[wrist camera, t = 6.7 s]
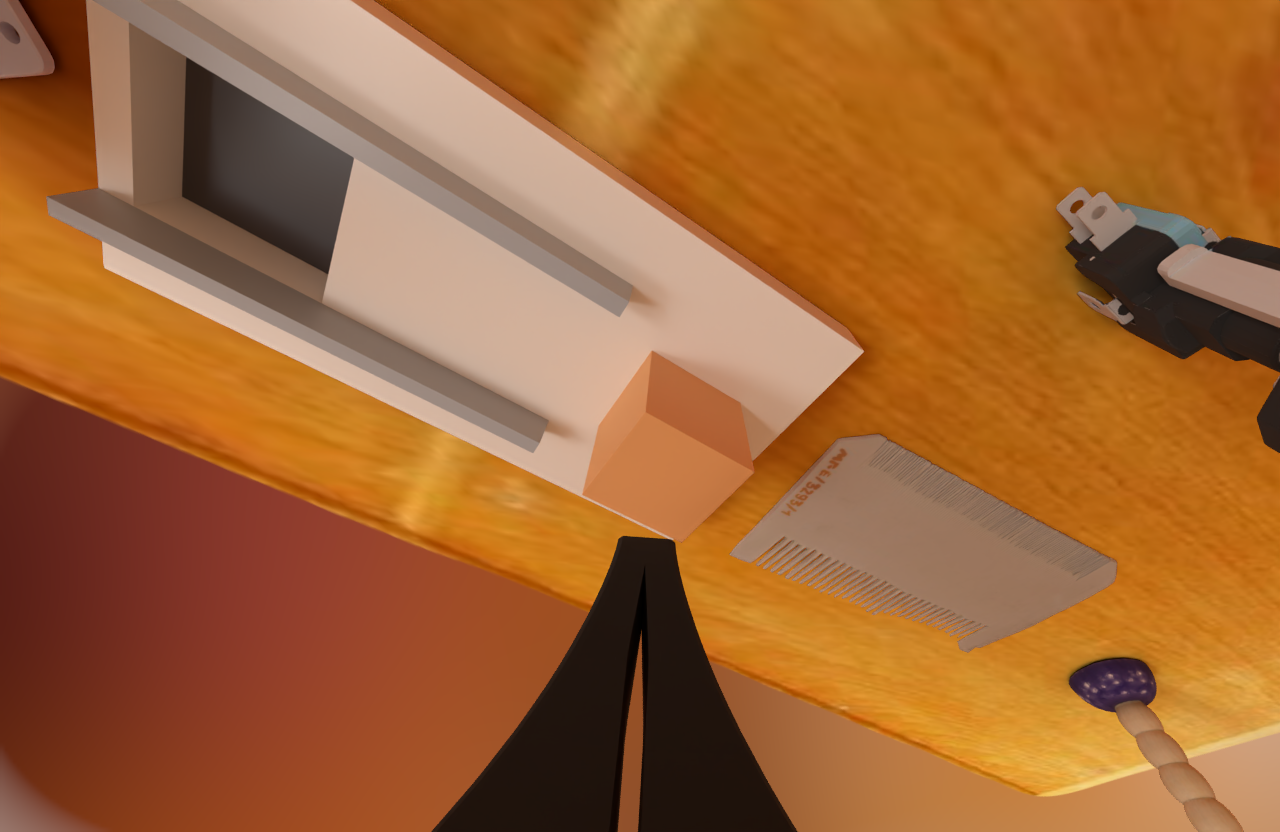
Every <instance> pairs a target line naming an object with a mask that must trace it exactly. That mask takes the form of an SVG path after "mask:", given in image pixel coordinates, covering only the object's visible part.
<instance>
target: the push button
mask: <svg viewBox="0 0 1280 832" xmlns="http://www.w3.org/2000/svg"><path fill="white" fill-rule="evenodd" d="M1078 200H1083V202H1084V204H1083V206H1082V207H1081V208H1080V209H1079V210H1078V211H1077V212H1076V213H1071V212H1070V207H1071V206H1072V204H1073V203H1074V202H1076V201H1078ZM1056 210H1057V211H1058V212H1059V213H1060V214H1061V215H1062V216H1063V217H1064V218H1065V220H1066V221H1067V222H1068V223H1069V224H1070V225H1071V226H1072V227H1073V228H1074V229H1073V230H1071V231H1070V232H1069V233H1070V234H1071V235H1072V236H1073V237H1074V238H1075V239H1074V240H1073V241H1072V242H1071V243H1069V244H1068V245H1067V246H1066V247H1065V248H1066V249H1067V250H1068V251H1069V253H1070V254H1071V255H1072V256H1073V257H1074V258H1075V259H1076V260H1077V261H1078V262H1077V263H1076V264H1075V267H1076V268H1077V269H1078V270H1079V271H1080V272H1081V273H1082V274H1083V275H1084V276H1086V277H1087V278H1089V279H1090V280H1092V281H1093V282H1095V283H1096V284H1098V285H1100V286H1101V287H1103V288H1104V289H1105V290H1106V291H1107V292H1108V294H1109V295H1110V296H1111V297H1112V298H1113V299H1114V300H1112V301H1111V302H1109V303H1106V304H1103V303H1102V302H1101V301H1099V300H1097V299H1095V298H1093V297H1091V296H1089V295H1087V294H1085V293H1083V292H1081V291H1079V292H1078V293H1077V294H1078V295H1079V296H1080V297H1081V298H1082V299H1083V300H1084V301H1085V302H1086V303H1087V304H1088V305H1089V306H1090V307H1091V308H1093V309H1094V310H1095V311H1097V312H1099V313H1101V314H1103V315H1105V316H1107V317H1109V318H1111V319H1113V320H1115V321H1117V322H1118V323H1119V324H1120V325H1121V326H1122V327H1123V328H1124V329H1126V330H1127V331H1129V332H1131V333H1133V334H1135V335H1136V336H1138V337H1140V338H1142V339H1144V340H1146V341H1148V342H1150V343H1152V344H1154V345H1156V346H1158V347H1159V348H1161V349H1163V350H1165V351H1167V352H1169V353H1171V354H1173V355H1175V356H1177V357H1179V358H1181V359H1186V358H1188V357H1189V356H1191V355H1192V354H1194V353H1196V352H1197V351H1199V350H1200V349H1202V348H1203V347H1207V348H1209V349H1211V350H1213V351H1216V352H1218V353H1220V354H1222V355H1224V356H1226V357H1228V358H1230V359H1232V360H1235V361H1242V360H1249V359H1251V360H1254V361H1256V362H1258V363H1260V364H1262V365H1265V366H1267V367H1269V368H1271V369H1273V370H1275V371H1278V372H1280V248H1277V247H1273V246H1269V245H1265V244H1261V243H1257V242H1253V241H1249V240H1245V239H1241V238H1234V237H1231V236H1228V237H1226V238H1225V239H1223V240H1220V238H1219V237H1218V236H1217V235H1216V233H1215V232H1214V231H1213V230H1212V228H1208V229H1207V230H1206V229H1205V228H1204V227H1203V226H1201V225H1197V224H1195V223H1193V222H1192V221H1191V220H1189V219H1188V218H1186V217H1183V216H1181V215H1177V214H1173V213H1168V214H1167V213H1163V212H1159V211H1155V210H1151V209H1146V208H1142V207H1138V206H1134V205H1130V204H1125V203H1118V204H1117V205H1116V204H1115V203H1114V202H1113V200H1112V199H1111V198H1110V197H1109V196H1108V195H1107V193H1106V192H1099V193H1098V194H1097V195H1095V196H1094V197H1093V198H1092V197H1091V196H1090V194H1089V193H1088V192H1087V191H1086V190H1085V189H1084V188H1083V187H1077V188H1076V189H1075V190H1074V191H1073V192H1071V193H1070V194H1069V195H1068V196H1067V197H1066V198H1065V199H1063V200H1062V201H1061V202H1060V203H1059V204H1058V205H1057V207H1056ZM1257 422H1258V425H1259V428H1260V431H1261V434H1262V438H1263V441H1264V443H1265V444H1266V445H1267V446H1268V447H1270V448H1272V449H1273V450H1275V451H1277V452H1279V453H1280V376H1279V377H1278V379H1277V380H1276V382H1275V383H1274V385H1273V390H1272V392H1271V393H1270V395H1269V397H1268V398H1267V400H1266V402H1265V404H1264V405H1263V407H1262V409H1261V410H1260V412H1259V414H1258V416H1257Z"/></svg>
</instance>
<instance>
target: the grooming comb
mask: <svg viewBox="0 0 1280 832" xmlns="http://www.w3.org/2000/svg"><path fill="white" fill-rule="evenodd" d="M783 537H785V538H784V539H783V540H782V541H781V542H779V543H778V544H777V545H776V546H775V547H774V548H773V549H772V550H771V551H769V552H768V553H767V554H766V555H765V556H764V557H763V558H762V559H761V560H760V561H759V562H758V563H757V564H756V566H759V565H761V564H762V563H763V562H765V561H766V560H767V559H769V558H770V557H771V556H772V555H774V554H775V553H776V552H777V551H779V550H780V549H781V548H782V547H784V546H785V545H786V544H787V543H788V542H790V541H791V540H792V541H791V542H790V543H789V544H788V545H787V546H786V547H785V548H784V549H783V550H781V551H780V552H779V553H778V554H777V555H776V556H775V557H774V558H773V559H772V560H770V561H769V562H768V563H767V564H766V565H765V566H764V567H763V568H764V569H766V568H768V567H769V566H770V565H772V564H773V563H774V562H776V561H777V560H779V559H780V558H781V557H782V556H784V555H785V554H786V553H787V552H789V551H790V550H791V549H793V548H794V547H795V546H796V545H798V544H799V546H797V547H796V548H795V549H794V550H792V551H791V552H790V553H789V554H788V555H787V556H786V557H784V558H783V559H782V560H781V561H780V562H779V563H778V564H776V565H775V566H774V567H773V568H772V569H771V570H770V571H771V572H773V571H775V570H776V569H778V568H779V567H780V566H782V565H783V564H785V563H786V562H787V561H789V560H790V559H791V558H793V557H794V556H795V555H797V554H798V553H799V552H800V551H802V550H803V549H804V548H806V549H805V550H804V551H802V552H801V553H800V554H799V555H798V556H797V557H795V558H794V559H793V560H792V561H791V562H789V563H788V564H787V565H786V566H785V567H784V568H783V569H781V570H780V571H779V572H778V573H777V574H778V575H781V574H782V573H784V572H785V571H787V570H788V569H789V568H791V567H792V566H794V565H795V564H796V563H798V562H799V561H800V560H802V559H803V558H804V557H806V556H807V555H808V554H809V553H811V552H812V551H813V550H815V551H814V552H813V553H812V554H810V555H809V556H808V557H807V558H805V559H804V560H803V561H802V562H801V563H800V564H798V565H797V566H796V567H795V568H794V569H793V570H792V571H791V572H789V573H788V574H787V575H786V576H785V578H786V579H789V578H790V577H792V576H793V575H794V574H795V573H797V572H798V571H799V570H801V569H802V568H803V567H805V566H806V565H807V564H809V563H810V562H811V561H812V560H814V559H815V558H816V557H818V556H819V555H820V554H821V553H822V555H821V556H820V557H819V558H818V559H817V560H815V561H814V562H812V563H811V564H810V565H809V566H808V567H806V568H805V569H804V570H803V571H801V572H800V573H799V574H798V575H797V576H795V577H794V578H793V579H792V580H793V581H795V580H797V579H798V578H799V577H801V576H802V575H804V574H805V573H807V572H808V571H810V570H811V569H813V568H814V567H816V566H817V565H818V564H820V563H821V562H822V561H824V560H825V559H827V558H828V557H830V558H828V559H827V560H826V561H825V562H823V563H822V564H821V565H820V566H819V567H817V568H816V569H815V570H814V571H812V572H811V573H810V574H809V575H807V576H806V577H805V578H804V579H802V580H801V581H800V582H799V583H800V584H802V583H803V582H805V581H807V580H808V579H810V578H811V577H813V576H814V575H816V574H817V573H819V572H820V571H822V570H823V569H825V568H826V567H827V566H829V565H831V564H832V563H834V562H835V561H836V562H835V563H834V564H832V565H831V566H830V567H829V568H827V569H826V570H825V571H823V572H822V573H821V574H820V575H819V576H817V577H816V578H815V579H813V580H812V581H811V582H810V583H808V584H807V586H810V585H812V584H814V583H815V582H817V581H818V580H820V579H821V578H823V577H825V576H826V575H828V574H829V573H831V572H832V571H833V570H835V569H836V568H837V567H839V566H840V565H842V564H844V563H845V564H844V565H843V566H841V567H840V568H839V569H837V570H836V571H835V572H833V573H832V574H831V575H829V576H828V577H827V578H826V579H824V580H823V581H822V582H820V583H819V584H818V585H817V586H815V587H814V589H816V588H818V587H820V586H821V585H823V584H825V583H826V582H828V581H829V580H831V579H833V578H834V577H836V576H837V575H839V574H840V573H842V572H843V571H844V570H846V569H847V568H849V567H851V568H850V569H849V570H847V571H846V572H845V573H843V574H842V575H841V576H839V577H838V578H837V579H835V580H834V581H832V582H831V583H830V584H828V585H827V586H826V587H824V588H823V589H822V590H820V591H819V592H823V591H824V590H826V589H828V588H829V587H831V586H832V585H834V584H836V583H837V582H839V581H840V580H842V579H843V578H845V577H846V576H848V575H849V574H851V573H852V572H854V571H855V570H857V571H856V572H855V573H853V574H852V575H851V576H849V577H848V578H847V579H846V580H844V581H843V582H841V583H840V584H838V585H837V586H836V587H834V588H833V589H832V590H830V591H829V593H828V594H830V593H832V592H834V591H835V590H837V589H839V588H840V587H842V586H844V585H845V584H847V583H849V582H850V581H852V580H854V579H855V578H857V577H858V576H859V575H861V574H862V573H864V574H863V575H862V576H860V577H859V578H858V579H856V580H855V581H854V582H852V583H851V584H849V585H848V586H847V587H845V588H844V589H843V590H841V591H840V592H839V593H837V594H836V595H835V596H834V598H835V597H836V596H838V595H840V594H841V593H843V592H845V591H847V590H848V589H850V588H852V587H853V586H855V585H856V584H858V583H860V582H861V581H863V580H864V579H866V578H867V577H869V576H870V575H872V576H871V577H870V578H868V579H867V580H865V581H864V582H862V583H861V584H860V585H858V586H857V587H855V588H854V589H852V590H851V591H849V592H848V593H847V594H845V595H844V596H843V597H842V599H843V598H846V597H848V596H850V595H851V594H853V593H855V592H857V591H858V590H860V589H862V588H863V587H865V586H867V585H868V584H870V583H871V582H873V581H874V582H873V583H872V584H870V585H869V586H868V587H866V588H865V589H864V590H862V591H861V592H860V593H858V594H857V595H855V596H854V597H853V598H851V599H850V602H852V601H853V600H855V599H857V598H859V597H860V596H862V595H864V594H865V593H867V592H869V591H870V590H872V589H873V588H875V587H877V586H878V585H880V584H881V583H883V582H885V583H884V584H882V585H880V586H879V587H878V588H876V589H875V590H873V591H872V592H870V593H869V594H867V595H866V596H865V597H863V598H862V599H861V600H859V601H858V602H856V604H858V603H860V602H862V601H863V600H865V599H867V598H869V597H870V596H872V595H874V594H876V593H877V592H879V591H880V590H882V589H884V588H885V587H887V586H888V585H890V586H888V587H887V588H886V589H884V590H883V591H882V592H880V593H879V594H877V595H876V596H875V597H873V598H872V599H870V600H869V601H867V602H866V603H865V604H863V605H862V606H861V607H865V606H867V605H869V604H871V603H872V602H874V601H876V600H877V599H879V598H881V597H883V596H884V595H886V594H887V593H889V592H891V591H892V590H894V589H895V590H894V591H893V592H891V593H890V594H888V595H887V596H885V597H884V598H883V599H881V600H880V601H878V602H876V603H875V604H874V605H872V606H871V607H870V608H868V609H867V610H866V611H867V612H868V611H870V610H872V609H874V608H876V607H877V606H879V605H881V604H882V603H884V602H886V601H887V600H889V599H891V598H892V597H894V596H895V595H897V594H898V593H900V592H901V591H902V593H901V594H899V595H898V596H896V597H894V598H893V599H892V600H890V601H889V602H887V603H886V604H884V605H883V606H881V607H880V608H879V609H877V610H876V611H875V612H873V613H872V615H875V614H877V613H878V612H880V611H882V610H883V609H885V608H887V607H889V606H890V605H892V604H893V603H895V602H896V601H898V600H900V599H901V598H903V597H905V596H906V595H908V594H909V595H908V596H907V597H905V598H904V599H902V600H901V601H899V602H898V603H896V604H895V605H893V606H891V607H890V608H888V609H887V610H885V611H884V613H886V612H888V611H890V610H892V609H894V608H896V607H898V606H900V605H902V604H903V603H905V602H907V601H909V600H911V599H913V598H915V597H916V598H915V599H913V600H911V601H910V602H908V603H907V604H905V605H904V606H902V607H900V608H899V609H897V610H896V611H894V612H893V613H892V614H890V615H894V614H895V613H897V612H899V611H901V610H903V609H905V608H907V607H909V606H911V605H913V604H915V603H917V602H918V603H917V604H915V605H914V606H912V607H911V608H909V609H908V610H906V611H905V612H903V613H901V614H900V615H898V617H901V616H903V615H905V614H907V613H909V612H911V611H913V610H915V609H917V608H918V607H920V606H922V605H924V604H926V605H924V606H922V607H921V608H919V609H918V610H916V611H915V612H913V613H912V614H910V615H908V616H907V617H905V618H906V619H908V618H910V617H912V616H914V615H916V614H918V613H920V612H922V611H924V610H926V609H928V608H930V607H931V608H930V609H928V610H927V611H925V612H924V613H922V614H920V615H919V616H917V617H915V618H914V619H912V621H915V620H917V619H919V618H921V617H923V616H925V615H927V614H929V613H931V612H933V611H935V610H937V609H939V610H937V611H935V612H934V613H932V614H930V615H929V616H927V617H926V618H924V619H923V620H921V621H919V623H922V622H924V621H926V620H928V619H930V618H932V617H935V616H937V615H939V614H941V613H943V612H944V611H946V610H947V611H946V612H944V613H943V614H941V615H940V616H938V617H936V618H935V619H933V620H931V621H930V622H928V623H927V625H929V624H931V623H933V622H936V621H938V620H940V619H942V618H944V617H946V616H948V615H950V614H952V613H954V614H952V615H950V616H948V617H947V618H945V619H943V620H941V621H940V622H938V623H937V624H935V625H934V626H932V627H935V626H938V625H940V624H942V623H944V622H947V621H949V620H951V619H953V618H955V617H956V618H955V619H953V620H951V621H950V622H948V623H946V624H945V625H943V626H942V627H940V628H938V629H939V630H940V629H943V628H945V627H947V626H949V625H952V624H954V623H956V622H958V621H961V620H963V619H964V620H963V621H961V622H959V623H958V624H956V625H954V626H953V627H951V628H949V629H948V630H946V631H945V632H946V633H947V632H949V631H951V630H954V629H956V628H958V627H960V626H963V625H964V624H966V623H968V622H970V621H972V622H970V623H969V624H967V625H965V626H963V627H961V628H960V629H958V630H956V631H954V632H953V633H951V634H950V636H952V635H955V634H957V633H959V632H961V631H964V630H966V629H968V628H970V629H969V630H967V631H965V632H963V633H962V634H960V635H959V636H958V637H960V636H963V635H965V634H967V633H969V632H971V631H974V630H976V629H978V628H980V627H982V626H984V627H982V628H981V629H979V630H977V631H975V632H974V633H972V634H970V635H968V636H966V637H964V638H963V639H961V640H959V641H958V644H959V648H960V650H962V651H965V652H970V651H971V650H972V649H974V648H975V647H978V648H981V647H983V646H985V645H988V644H990V643H992V642H995V641H997V640H999V639H1002V638H1005V637H1007V636H1010V635H1012V634H1015V633H1017V632H1020V631H1022V630H1024V629H1026V628H1029V627H1031V626H1033V625H1035V624H1037V623H1039V622H1041V621H1043V620H1045V619H1047V618H1049V617H1051V616H1053V615H1055V614H1057V613H1059V612H1061V611H1063V610H1065V609H1067V608H1069V607H1071V606H1073V605H1075V604H1077V603H1079V602H1081V601H1083V600H1085V599H1087V598H1089V597H1090V596H1092V595H1094V594H1096V593H1098V592H1099V591H1101V590H1103V589H1105V588H1107V587H1108V586H1109V585H1111V584H1112V583H1113V582H1114V581H1115V578H1116V571H1117V562H1116V560H1114V559H1112V558H1110V557H1109V558H1108V557H1107V556H1105V555H1104V554H1101V553H1098V551H1097V552H1096V550H1094V549H1092V548H1090V547H1088V546H1086V545H1084V544H1082V543H1080V542H1078V541H1077V540H1075V539H1072V538H1071V537H1069V536H1068V535H1065V534H1063V533H1061V532H1060V531H1058V530H1054V529H1052V528H1051V527H1050V526H1047V525H1046V524H1044V523H1042V522H1040V521H1038V520H1036V519H1035V518H1033V517H1031V516H1029V515H1027V514H1026V513H1024V512H1022V511H1021V510H1018V509H1016V508H1014V507H1012V506H1010V505H1008V504H1006V503H1005V502H1004V501H1000V500H998V499H997V498H996V497H994V496H992V495H991V494H988V493H986V492H984V491H983V490H980V488H978V487H977V488H976V486H973V485H972V484H970V483H968V482H966V481H963V480H962V479H961V478H959V477H957V476H956V475H954V474H951V473H950V472H947V471H945V470H944V469H942V468H940V467H937V465H934V464H931V462H930V461H927V460H925V459H924V458H921V457H919V456H917V455H916V454H914V453H912V452H910V451H909V450H906V449H905V448H903V447H901V446H899V445H896V443H893V442H891V441H890V440H889V441H888V440H887V438H886V437H884V436H882V435H880V434H875V435H866V436H857V437H847V438H839V439H837V440H836V441H835V442H834V443H833V444H832V446H831V447H830V448H829V449H828V450H827V451H826V452H825V453H824V454H823V455H822V456H821V457H820V458H819V459H818V460H817V461H816V462H815V463H814V464H813V465H812V466H811V467H810V468H809V469H808V471H807V472H806V473H805V474H804V475H803V476H802V477H801V478H800V479H799V480H798V481H797V482H796V484H795V485H794V486H793V487H792V488H791V489H790V490H789V491H788V492H787V493H786V494H785V495H784V496H783V497H782V498H781V499H780V500H779V502H778V503H777V504H776V505H775V506H774V507H773V508H772V509H771V510H770V511H769V512H768V513H767V514H766V515H765V516H764V517H763V518H762V519H761V520H760V522H759V523H758V524H757V525H756V526H755V527H754V528H753V529H752V530H751V531H750V532H749V533H748V534H747V535H746V536H745V537H744V538H743V539H742V540H741V541H740V542H739V543H738V544H737V545H736V547H735V548H734V549H733V550H732V552H731V553H730V555H731V556H734V557H736V558H738V559H740V560H743V561H746V562H749V563H751V562H753V561H754V560H756V559H757V558H758V557H759V556H761V555H762V554H763V553H764V552H766V551H767V550H768V549H769V548H771V547H772V546H773V545H774V544H776V543H777V542H778V541H779V540H780V539H782V538H783ZM876 579H877V580H876ZM875 580H876V581H875ZM896 588H897V589H896ZM922 599H923V600H922ZM920 600H921V601H920ZM919 601H920V602H919ZM856 604H855V605H856ZM932 606H933V607H932ZM985 625H986V626H985ZM973 626H974V627H973ZM971 627H972V628H971ZM958 637H957V638H958Z"/></svg>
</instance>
